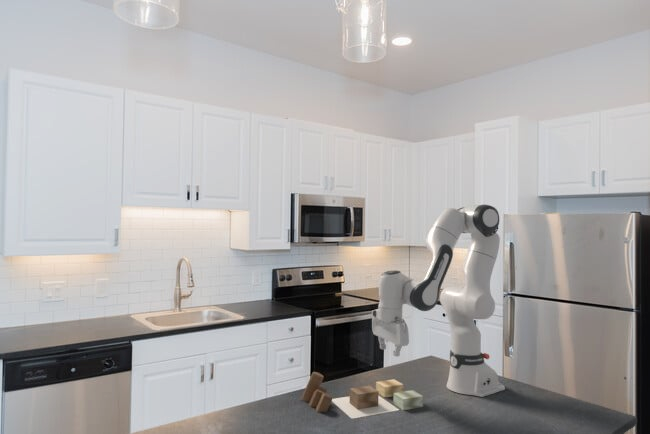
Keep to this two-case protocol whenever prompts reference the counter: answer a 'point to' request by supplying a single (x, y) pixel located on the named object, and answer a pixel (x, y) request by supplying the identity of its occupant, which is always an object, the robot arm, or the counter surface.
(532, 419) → the counter surface
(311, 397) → the wooden block set
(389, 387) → the oak brick
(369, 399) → the walnut base brick
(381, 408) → the baseplate
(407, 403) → the sage brick
